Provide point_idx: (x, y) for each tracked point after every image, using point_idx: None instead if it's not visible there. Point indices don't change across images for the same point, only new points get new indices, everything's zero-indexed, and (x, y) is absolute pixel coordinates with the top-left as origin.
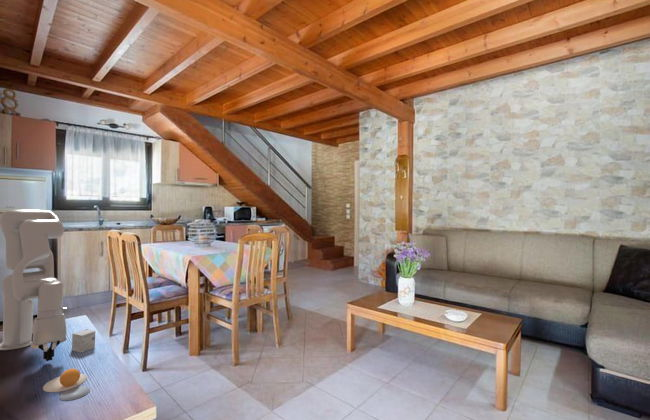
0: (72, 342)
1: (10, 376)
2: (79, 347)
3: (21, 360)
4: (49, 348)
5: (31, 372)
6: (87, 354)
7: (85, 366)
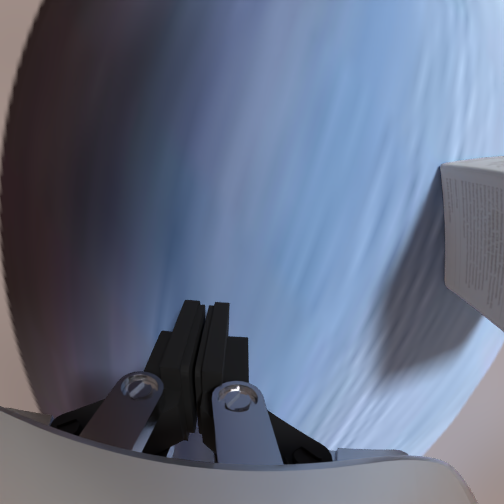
0: (492, 182)
1: (24, 324)
2: (468, 285)
3: (84, 60)
4: (202, 403)
5: (106, 368)
6: (437, 346)
7: None
